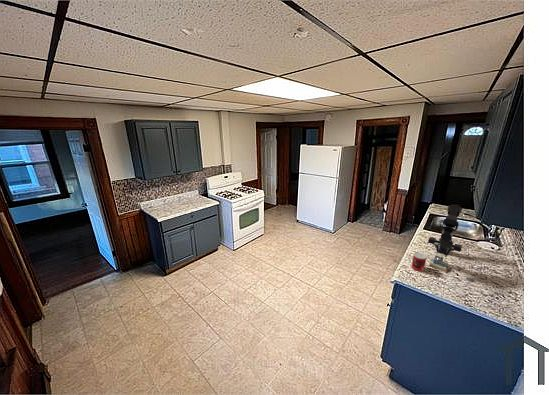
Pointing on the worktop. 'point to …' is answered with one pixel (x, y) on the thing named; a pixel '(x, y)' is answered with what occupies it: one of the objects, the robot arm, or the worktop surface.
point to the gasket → (469, 279)
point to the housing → (438, 260)
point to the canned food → (418, 261)
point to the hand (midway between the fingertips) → (441, 254)
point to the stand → (442, 268)
